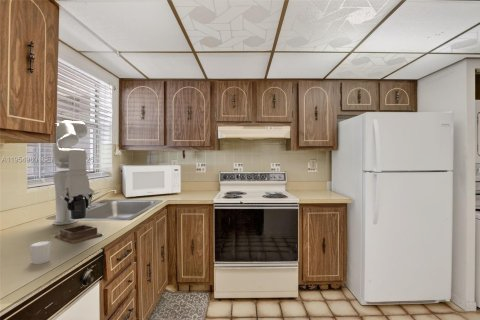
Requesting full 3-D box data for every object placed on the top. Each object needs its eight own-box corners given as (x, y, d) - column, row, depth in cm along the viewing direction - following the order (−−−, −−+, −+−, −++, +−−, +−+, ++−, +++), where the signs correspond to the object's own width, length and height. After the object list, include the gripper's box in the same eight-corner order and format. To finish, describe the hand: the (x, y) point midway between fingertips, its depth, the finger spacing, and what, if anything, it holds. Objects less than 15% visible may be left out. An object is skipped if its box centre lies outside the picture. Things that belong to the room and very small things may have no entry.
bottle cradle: (54, 237, 134) (54, 229, 134) (83, 230, 146) (83, 223, 146) (73, 243, 125) (72, 235, 124) (102, 235, 136) (102, 228, 136)
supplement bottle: (89, 216, 138) (88, 193, 138) (81, 219, 132) (80, 195, 131) (75, 216, 138) (75, 193, 138) (67, 219, 132) (66, 195, 131)
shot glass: (55, 257, 108) (54, 240, 108) (45, 264, 101) (45, 245, 101) (36, 258, 107) (36, 241, 107) (25, 265, 100) (25, 246, 100)
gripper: (91, 172, 144) (91, 205, 144) (54, 174, 129) (55, 211, 130) (98, 172, 140) (99, 206, 140) (62, 174, 125) (63, 212, 126)
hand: (78, 208), depth 135 cm, fingers closed on supplement bottle, 6 cm apart
